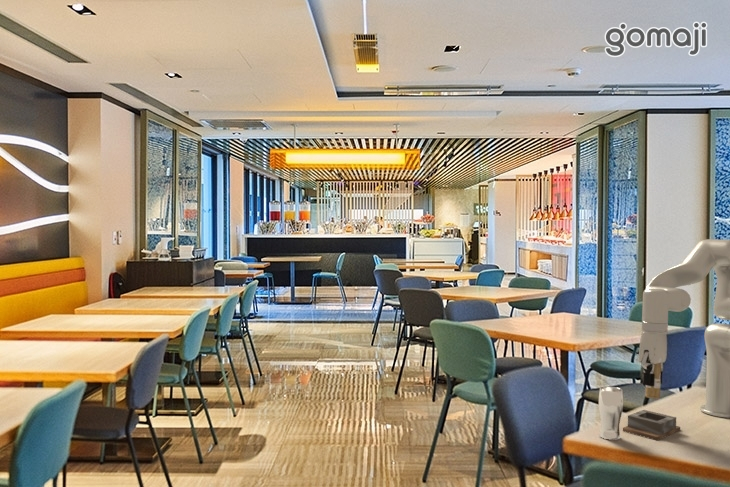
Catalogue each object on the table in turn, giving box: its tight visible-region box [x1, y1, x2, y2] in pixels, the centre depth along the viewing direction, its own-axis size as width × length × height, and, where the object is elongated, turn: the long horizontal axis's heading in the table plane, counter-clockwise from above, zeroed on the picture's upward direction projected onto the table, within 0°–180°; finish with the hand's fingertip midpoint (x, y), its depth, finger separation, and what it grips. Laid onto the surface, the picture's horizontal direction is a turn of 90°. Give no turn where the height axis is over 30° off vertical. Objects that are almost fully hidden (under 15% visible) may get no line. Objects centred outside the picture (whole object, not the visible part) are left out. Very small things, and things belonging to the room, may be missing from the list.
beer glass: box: [598, 385, 624, 441], centre depth 193 cm, size 7×7×15 cm
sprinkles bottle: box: [644, 358, 662, 400], centre depth 200 cm, size 5×5×13 cm
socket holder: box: [622, 409, 681, 441], centre depth 201 cm, size 16×11×4 cm
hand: (652, 383), depth 200 cm, fingers closed on sprinkles bottle, 4 cm apart
